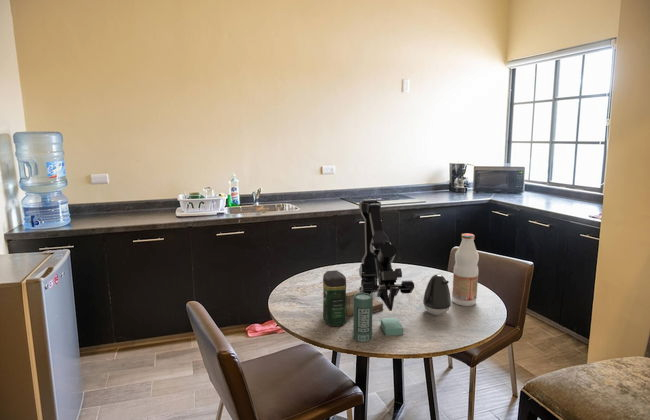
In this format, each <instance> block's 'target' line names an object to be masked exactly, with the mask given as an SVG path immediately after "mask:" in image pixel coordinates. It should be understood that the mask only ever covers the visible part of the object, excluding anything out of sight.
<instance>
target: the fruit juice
mask: <svg viewBox="0 0 650 420" xmlns="http://www.w3.org/2000/svg"><path fill="white" fill-rule="evenodd" d="M475 237H476V236H475V234H473V233H468V232H467V233H461V242H460V245H458V248H457V249H456V251H455V254H454V259H455V264H454V265H453V275H452V276H453V277H452V292H451V293H452V297H451V298H452V299H451V301H452V302H453V304H455V305H459V306H464V307H471V306H474V305H476V303H477V299H478V297H477V296H478V284H479V283H478V282H479V266H478V263H479V260H480V255H479V252H478V250H477V247H476V244H475V242H474V240H475Z"/></svg>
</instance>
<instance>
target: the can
mask: <svg viewBox="0 0 650 420" xmlns="http://www.w3.org/2000/svg"><path fill="white" fill-rule="evenodd" d="M373 298H374V297H373V295H372V293H371V294H368V293H361V292H360V293H357V294H355V295H354V314H353V319H352V320H353V324H352V325H353V326H352V327H353V329H352V331H353V332H352V334H353V337H352V338H353V340H354V341H356V342H358V343H368V342H371V341H372V340H373V312H372V308H373Z"/></svg>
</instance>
